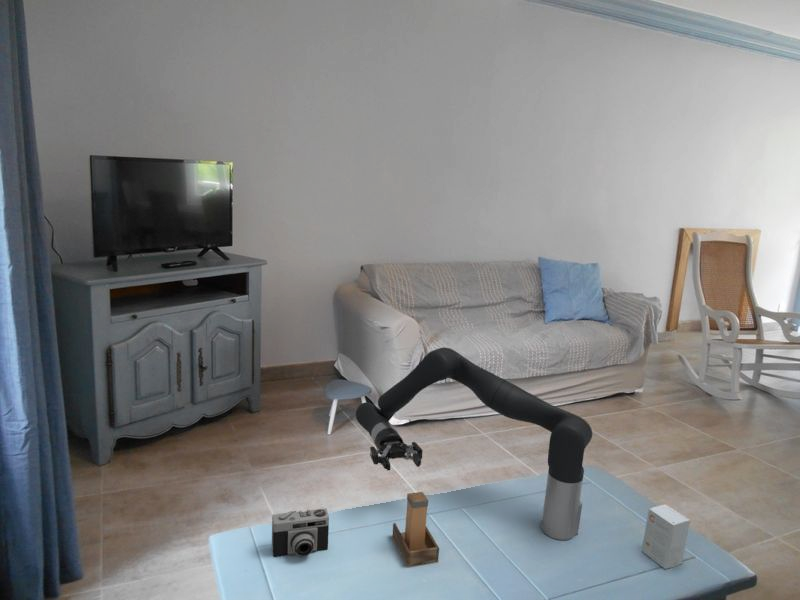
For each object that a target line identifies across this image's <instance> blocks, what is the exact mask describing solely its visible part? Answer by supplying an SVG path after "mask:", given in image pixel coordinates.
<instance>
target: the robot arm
mask: <svg viewBox="0 0 800 600" xmlns="http://www.w3.org/2000/svg"><path fill="white" fill-rule="evenodd" d="M447 379H451V380H454V381H456V382H458V383H460V384H462V385H463V386H465V387H467V388H468V389H469V390H471V392H473V394H474V395H475V396H476V397H477V398H478V399H479V400H480V401H481V402H482V404H483V405H485V406H487V408H489V409H491V410H492V411H495V412H496V413H498V414H500V415H501V416H503V417H506V418H508V419H511V420H515V421H519V422H525V423H529V424H534V425H536V426H540V427H542V428H543V429H545V430H547V431H549V432H550V438H549V443H548V453H547V465H548V472H547V478H546V479H547V480H546V486H545V487H546V488H545V495H544V502H543V510H542V518H541V524H540V526H541V528H540V529H541V530H542V532H543V533H544V534H545V535H546V536H548V537H550V538H553V539H555V540H560V541H566V540H571V539H572V538H574V537H575V536H576V535H578V534H579V530H580V522H581V515H582V509H583V502H582V501H581V495H582V487H583V480H584V476H585V475H584V474H585V469H584V466H583V465H584V464H583V461H584V453H585V449H586V447H587V446H588V445H589V443H590V442H591V441H592V438H593V429H592V427H591V426H590V424H589V422H588V421H586V419H585V418H583V417H581V416H579V415H576V414H574V413H573V412H571V411H566V410H565V409H563V408H561V407H558V406H555V405H553V404H552V403H549V402H547V401H544V400H543V399H541V398H540V397H537V396H536V395H534V394H532V393H530V392H529V391H526V390H525V389H522V388H521V387H519V386H518V385H516V384H514V383H512V382H511V381H508V380H507V379H504V378H503V377H500V376H498V375H497V374H494V373H493V372H491V371H489V370H487V369H485V368H482V367H480V366H478V364H475V363H474V362H472V361H470V360H469V359H468V358H466V357H465V356H463V355H461V354H460V353H459V352H458V351H456V350H454V349H452V348H449V347H439V348H436V349H433V350H431V351H429V352H428V353H426V355H425V356H424V357H423V358H422V359H421V360H420V361H419V362H418V364H417V365H416V366H415V367H414V368H413V370H412V371H410V372H409V373H408V374H407V375H406V376H405V377H404V378H402V379H401V380H400V381H399V382H397V383H396V384H394V385H393V386H392V387H390V388H389V389H387V391H385V392H384V393H382V395H380V396H379V398H378V400H377V404H378V405H377V406H376V405H374V404H373V403H372V402H367V401H366V402H362V403H360V404H359V405H358V407H357V408H356V411H355V419H356V421H357V422H358V424H359V425H360V426H361V427H362V428H363V429H364V430H366V432H367V433H368V434H369V436H370V437H371V439H372V442H373V444H374V445H375V446H376V448H375V446H370V448H369V451H370V453H369V457H370V458H371V460H372V464H373V465H378V464H380V465H381V466H382V468H384V469H385V470H387V471H391V462H390V460H391V459H392V460H394V459H404V460H406V461H408V460H411V461H412V463H414V464H415V466H416V467H417V468H418V467H419V468H420V467H421V464H422V459H423V451H424V450H423V449H422V448H421V447H420V446H419V444H418V443H417V442H415V441H412V442H411V444H406V443H404V440H403V438H402V437H401V435H400V434H399V432H398V431H397V429H395V427H394V426H393V425H392V424H391V423H390V420H391V419H392V418H393V416H394V415H395V414H396V413H397V412H399V411H400V410H401V409H403V408H404V407H406V405H407V404H409V403H410V402H412V400H413V399H414V398H415V397H416V396H417V395H418V394H419V393H420V392H421V391H423V390H424V389H425V388H427V387H429V386H432V385H434V384H435V383H437V382H440V381H444V380H447ZM379 455H380V456H379Z"/></svg>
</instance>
